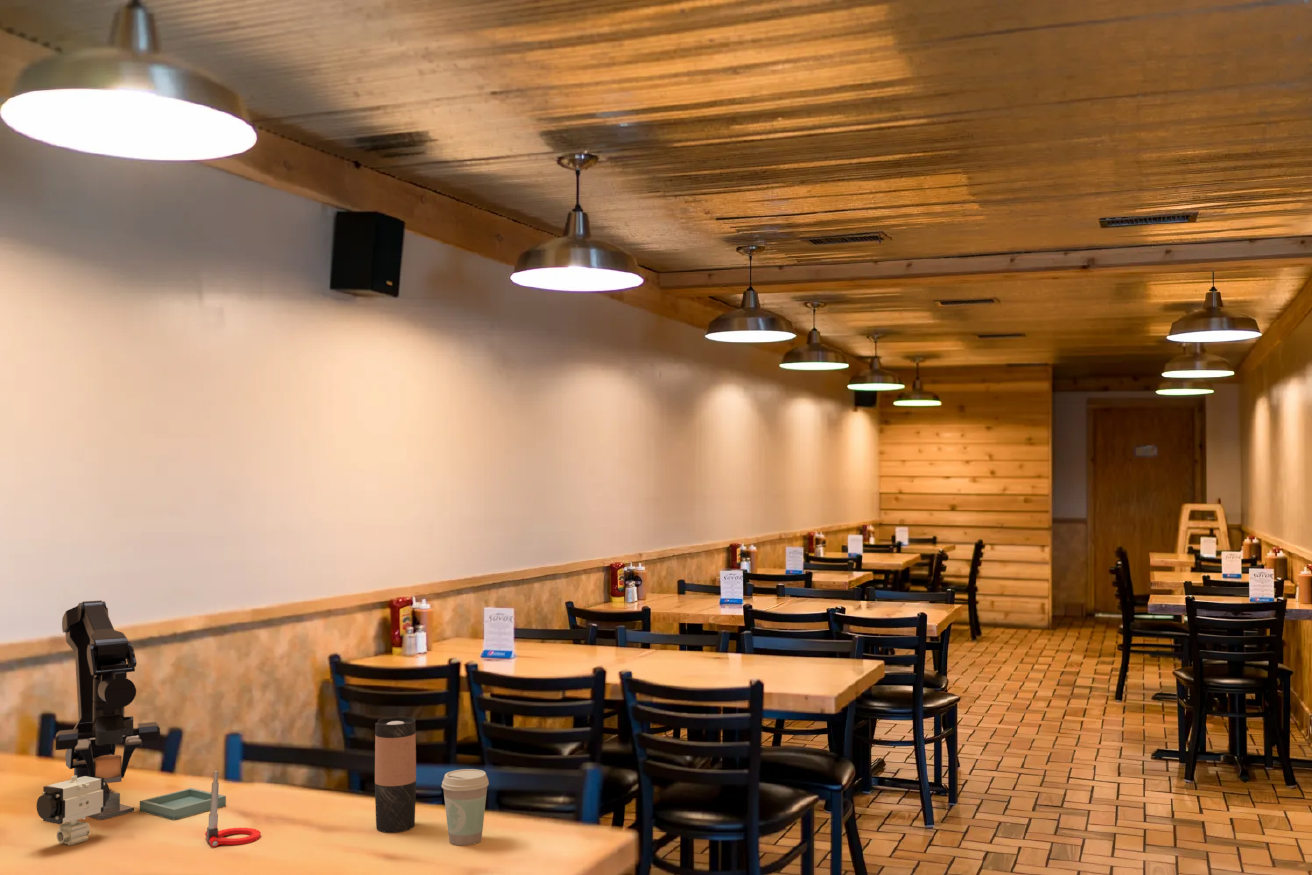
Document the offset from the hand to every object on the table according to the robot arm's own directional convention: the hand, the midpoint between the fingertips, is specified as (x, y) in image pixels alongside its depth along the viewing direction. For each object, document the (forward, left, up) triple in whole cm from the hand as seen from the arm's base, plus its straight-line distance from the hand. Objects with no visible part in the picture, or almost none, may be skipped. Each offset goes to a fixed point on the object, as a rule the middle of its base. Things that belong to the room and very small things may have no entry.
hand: (108, 779), depth 229 cm
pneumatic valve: (+13, -14, -7) cm, 20 cm away
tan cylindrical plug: (0, 0, 0) cm, 0 cm away
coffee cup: (+73, +25, -7) cm, 77 cm away
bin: (+10, +10, -7) cm, 16 cm away
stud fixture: (0, 0, -7) cm, 7 cm away
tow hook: (+36, +3, -7) cm, 37 cm away
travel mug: (+56, +24, -7) cm, 61 cm away
